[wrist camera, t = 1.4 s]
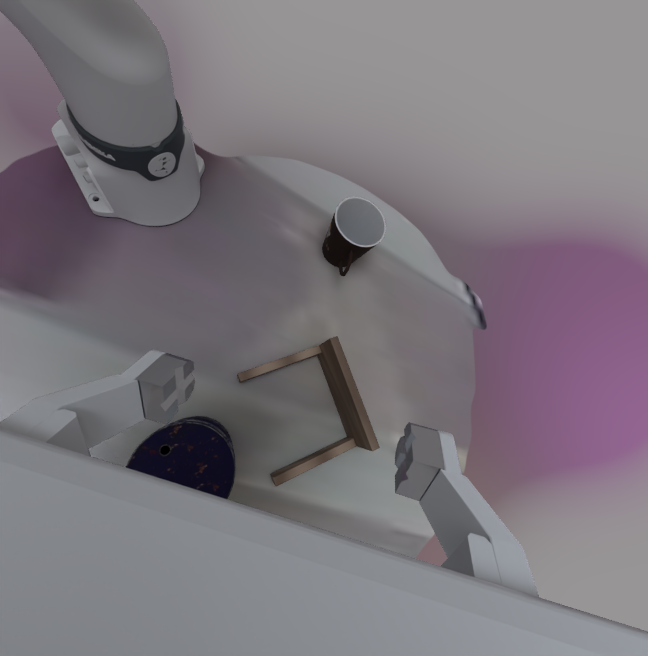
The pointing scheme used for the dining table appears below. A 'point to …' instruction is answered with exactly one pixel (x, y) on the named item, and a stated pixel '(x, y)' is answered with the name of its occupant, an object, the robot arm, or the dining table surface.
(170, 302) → the dining table surface
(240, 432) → the dining table surface
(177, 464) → the dark blue cylinder
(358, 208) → the coffee mug
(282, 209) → the dining table surface
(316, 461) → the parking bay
